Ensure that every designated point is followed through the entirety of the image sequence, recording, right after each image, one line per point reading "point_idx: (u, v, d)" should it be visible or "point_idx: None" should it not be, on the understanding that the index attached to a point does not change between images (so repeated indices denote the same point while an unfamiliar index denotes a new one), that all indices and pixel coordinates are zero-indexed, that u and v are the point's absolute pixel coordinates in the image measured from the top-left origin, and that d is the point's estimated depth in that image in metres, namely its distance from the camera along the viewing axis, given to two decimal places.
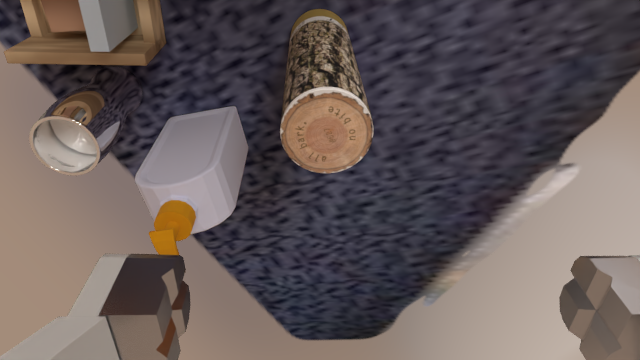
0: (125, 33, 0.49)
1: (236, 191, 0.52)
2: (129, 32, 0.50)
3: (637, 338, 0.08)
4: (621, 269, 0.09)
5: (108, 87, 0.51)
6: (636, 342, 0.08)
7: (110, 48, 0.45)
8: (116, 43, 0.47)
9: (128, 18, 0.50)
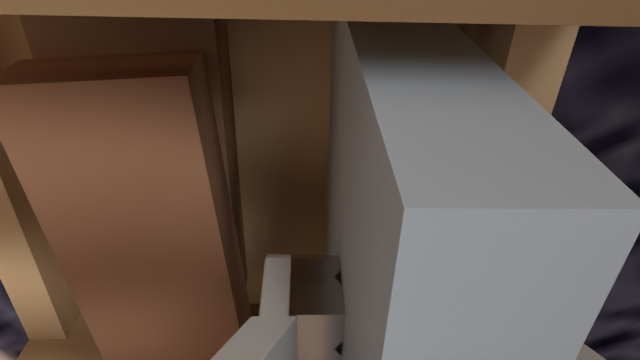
0: None
1: None
2: None
3: None
4: None
5: None
6: None
7: None
8: None
9: None
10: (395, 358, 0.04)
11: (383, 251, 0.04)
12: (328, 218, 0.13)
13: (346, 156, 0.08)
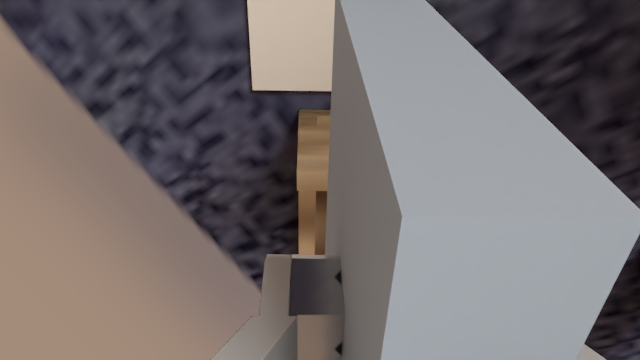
0: None
1: None
2: None
3: None
4: None
5: None
6: None
7: None
8: None
9: None
10: None
11: (381, 257, 0.04)
12: (329, 220, 0.13)
13: (346, 160, 0.08)
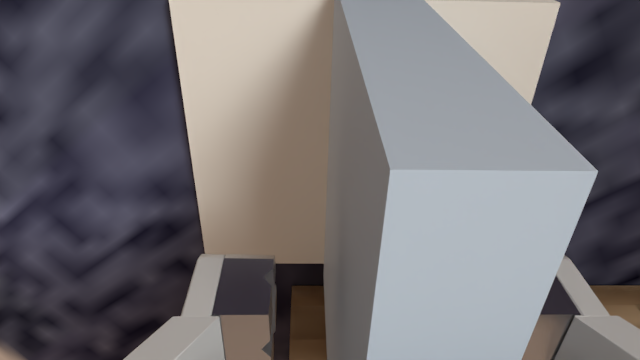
0: None
1: None
2: None
3: (536, 338, 0.08)
4: None
5: None
6: (535, 342, 0.08)
7: None
8: None
9: None
10: (385, 307, 0.05)
11: (374, 213, 0.05)
12: (328, 206, 0.14)
13: (344, 142, 0.08)
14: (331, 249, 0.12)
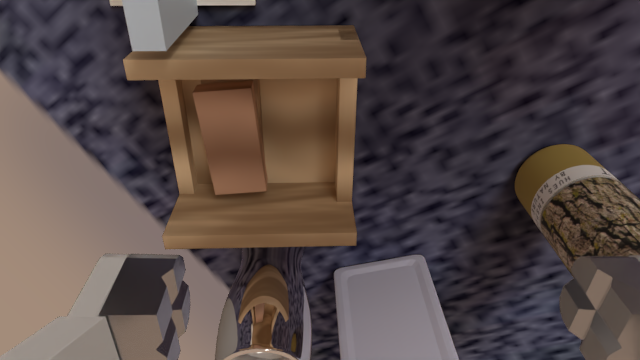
0: (185, 21, 0.29)
1: None
2: (188, 21, 0.30)
3: (638, 337, 0.08)
4: (621, 269, 0.09)
5: (285, 260, 0.38)
6: (636, 342, 0.08)
7: (167, 44, 0.25)
8: (174, 37, 0.27)
9: None
10: None
11: None
12: None
13: None
14: None
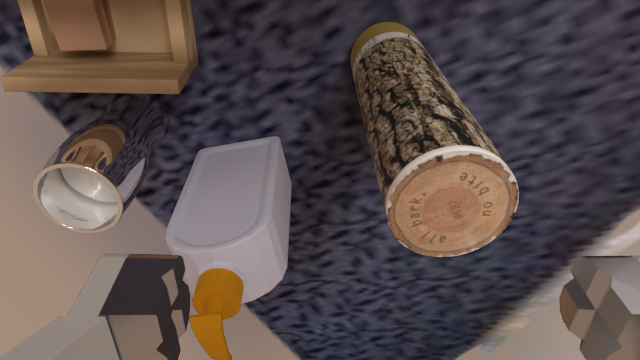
0: None
1: (286, 246, 0.42)
2: None
3: (638, 338, 0.08)
4: (621, 269, 0.09)
5: (129, 118, 0.42)
6: (636, 342, 0.08)
7: None
8: None
9: None
10: None
11: None
12: None
13: None
14: None
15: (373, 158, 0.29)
